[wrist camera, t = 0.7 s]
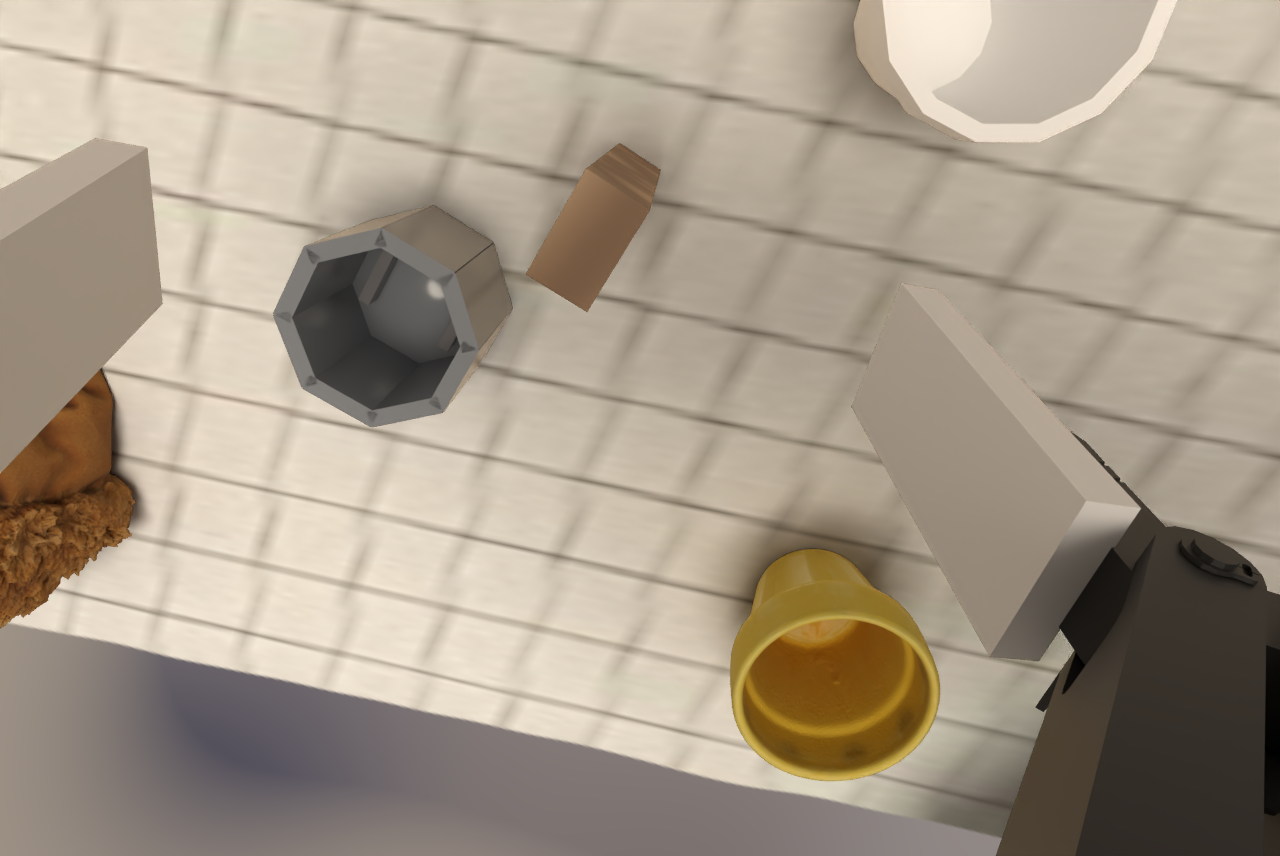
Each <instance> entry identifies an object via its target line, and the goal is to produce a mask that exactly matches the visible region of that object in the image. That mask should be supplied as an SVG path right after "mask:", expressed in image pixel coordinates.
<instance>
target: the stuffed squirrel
mask: <svg viewBox="0 0 1280 856" xmlns="http://www.w3.org/2000/svg"><path fill="white" fill-rule="evenodd" d="M112 409H113V402H112V396H111V393H110V391H109V388H108V386H107V384H106V381H105V379H104V377H103V375H102V373H101V372H100V370H99V371H98V372H97V373H96V374H95V375H94V376H93V377H92V378H91V379H90V380H89V381H88V382H87V383H86V384H85V385H84V386H83V387H82V388H81V389H80V391H79V392H78V393H77V394H76V395H75V396H74V397H73V398H72V399H71V400H70V401H69V402H68V403H67V404H66V405H65V406H64V407H63V408H62V409H61V410H60V411H59V413H58V414H57V415H56V416H55V417H54V418H53V419H52V420H51V421H50V422H49V423H48V424H47V425H46V426H45V427H44V428H43V429H42V430H41V431H40V432H39V433H38V434H37V436H36V437H35V438H34V439H33V440H32V441H31V442H30V443H29V444H28V445H27V446H26V447H25V448H24V449H23V450H22V451H21V452H20V453H19V454H18V455H17V456H16V457H15V459H14V460H13V461H12V462H11V463H10V464H9V465H8V466H7V467H6V468H5V469H4V470H3V471H2V472H1V473H0V628H2V627H4V626H5V625H6V624H7V623H8V622H10V621H11V619H12V618H14V617H15V616H19V615H20V614H21V616H22V617H24V616H25V615H27V614H28V615H30V613H31V612H32V611H34V610H35V609H36V608H37V607H39V606H40V605H42V604H43V603H45V602H47V601H48V597H49V594H51V593H52V592H53V591H54V590H55V589H56V588H57V587H58V585H59V584H60V579H61V577H62V576H63V577H65V578H67V579H69V578H70V576H71V575H72V574H73V573H75V574H76V575H77V576H79V572H80V571H81V570H83V568H84V567H85V564H87V562H88V561H89V560H88V558H92V560H93V561H95V560H96V559H97V554H98V551H99V552H100V551H101V549H102V547H107V545H108V546H112V547H116V546H117V544H118V543H121V542H122V539H126V538H128V536H132V534H130V532H129V530H128V529H127V528H128V527H129V525H130V517H131V515H132V514H133V510H132V507H133V504H134V503H136V502H135V501H134V500H133V498H132V494H133V493H132V491H131V489H130V488H129V487H128V486H127V485H126V484H125V483H123V481H122V480H121V479H119V478H118V477H117V476H115V475H111V474H110V473H109V472H110V470H111V466H112V464H111V432H112V429H111V424H112ZM117 547H118V546H117Z"/></svg>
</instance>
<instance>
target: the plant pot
mask: <svg viewBox="0 0 1280 856" xmlns="http://www.w3.org/2000/svg"><path fill="white" fill-rule="evenodd" d="M730 685H731V698H732V708H733V714H734V717H735V721H736V723H737V726H738V728H739V730H740V732H741V734H742V736H743V738H744V739H745V741H746V742H747V743H748V744H749V746H750V747H751V748H752V749H753V750H754V751H755V752H756V753H757V754H758V755H759V756H760V757H761V758H763V759H764V760H765V761H767V762H768V763H769V764H771V765H773V766H774V767H776V768H778V769H780V770H782V771H784V772H787V773H789V774H792V775H795V776H798V777H802V778H806V779H812V780H820V781H843V780H853V779H858V778H862V777H866V776H870V775H873V774H875V773H878V772H881V771H883V770H885V769H887V768H889V767H891V766H893V765H894V764H896V763H898V762H900V761H901V760H902V759H904V758H905V757H906V756H907V755H909V754H910V753H911V752H912V751H913V750H914V749H915V748H916V747H917V746H918V745H919V744H920V743H921V741H922V740H923V739H924V737H925V736H926V734H927V733H928V731H929V730H930V728H931V726H932V724H933V722H934V719H935V717H936V714H937V710H938V706H939V700H940V682H939V675H938V671H937V668H936V665H935V662H934V660H933V657H932V655H931V653H930V650H929V648H928V646H927V644H926V642H925V640H924V638H923V636H922V634H921V632H920V630H919V628H918V626H917V625H916V623H915V621H914V620H913V618H912V617H911V616H910V614H909V613H908V612H907V611H906V610H905V609H904V608H903V607H902V606H901V605H900V604H899V603H898V602H897V601H895V600H894V599H893V598H891V597H890V596H888V595H886V594H884V593H883V592H881V591H879V590H877V589H875V588H874V587H873V586H872V585H871V584H870V583H869V582H868V580H867V579H866V578H865V577H864V576H863V575H862V573H861V572H860V571H859V570H858V569H857V568H856V566H855V565H854V564H853V563H851V562H850V561H849V560H847V559H846V558H844V557H842V556H840V555H839V554H836V553H834V552H831V551H827V550H822V549H804V550H799V551H795V552H792V553H789V554H786V555H784V556H782V557H781V558H779V559H777V560H776V561H775V562H773V563H772V564H771V565H770V566H769V567H768V568H767V569H766V571H765V572H764V573H763V575H762V577H761V578H760V580H759V583H758V585H757V589H756V593H755V598H754V602H753V606H752V610H751V614H750V616H749V617H748V618H747V620H746V621H745V622H744V624H743V625H742V627H741V629H740V631H739V633H738V635H737V637H736V639H735V642H734V645H733V649H732V653H731V664H730Z"/></svg>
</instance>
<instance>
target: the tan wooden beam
mask: <svg viewBox="0 0 1280 856" xmlns="http://www.w3.org/2000/svg"><path fill="white" fill-rule="evenodd" d="M660 171H661V170H660V169H658V168H657V167H655V166H654V165H652V164H651V163H649V162H648V161H646V160H645V159H643V158H641V157H640V156H638V155H637V154H635V153H634V152H632V151H631V150H629V149H628V148H626V147H625V146H623V145H622V144H618V145H617V146H616V147H614V148H613V149H612V150H610V151H609V152H608V153H606V154H605V155H604V156H602V157H601V158H600V159H598V160H597V161H596V162H594V163H593V164H592V165H590V166H589V167H588V168H586V170H585V172H584V173H583V175H582V177H581V179H580V180H579V182H578V184H577V186H576V187H575V189H574V191H573V193H572V194H571V196H570V198H569V200H568V201H567V203H566V205H565V207H564V208H563V210H562V212H561V213H560V215H559V217H558V219H557V220H556V222H555V224H554V226H553V227H552V229H551V231H550V233H549V234H548V236H547V238H546V240H545V241H544V243H543V245H542V247H541V248H540V250H539V252H538V254H537V255H536V257H535V259H534V261H533V262H532V264H531V266H530V267H529V269H528V271H527V273H526V275H528V276H529V277H531V278H532V279H534V280H536V281H537V282H539V283H541V284H542V285H544V286H545V287H547V288H549V289H550V290H552V291H554V292H555V293H557V294H558V295H560V296H562V297H563V298H565V299H566V300H568V301H570V302H571V303H573V304H575V305H576V306H578V307H579V308H581V309H583V310H584V311H586V312H587V311H588V310H589V308H590V307H591V305H592V303H593V302H594V300H595V298H596V297H597V295H598V294H599V292H600V290H601V289H602V287H603V285H604V284H605V282H606V281H607V279H608V277H609V276H610V274H611V272H612V271H613V269H614V268H615V266H616V264H617V263H618V261H619V259H620V258H621V256H622V254H623V253H624V251H625V250H626V248H627V246H628V245H629V243H630V241H631V240H632V238H633V237H634V235H635V233H636V232H637V230H638V228H639V227H640V225H641V224H642V222H643V220H644V219H645V217H646V215H647V214H648V212H649V211H650V208H651V204H652V200H653V197H654V193H655V189H656V185H657V182H658V178H659V174H660Z"/></svg>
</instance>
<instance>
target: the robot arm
mask: <svg viewBox="0 0 1280 856" xmlns="http://www.w3.org/2000/svg"><path fill="white" fill-rule="evenodd" d="M162 304H163V303H162V292H161V282H160V272H159V262H158V251H157V241H156V231H155V221H154V210H153V200H152V190H151V180H150V169H149V159H148V149H147V147H141V146H136V145H130V144H125V143H119V142H113V141H108V140H102V139H97V138H95V139H93V140H91V141H89V142H87V143H85V144H84V145H82V146H80V147H78V148H76V149H74V150H72V151H71V152H69V153H67V154H65V155H63V156H61V157H60V158H58V159H56V160H54V161H52V162H50V163H48V164H47V165H45V166H43V167H41V168H39V169H37V170H36V171H34V172H32V173H30V174H28V175H26V176H24V177H23V178H21V179H19V180H17V181H15V182H13V183H12V184H10V185H8V186H6V187H4V188H2V189H0V473H1V472H2V471H3V470H4V469H5V468H6V467H7V466H8V465H9V464H10V463H11V462H12V461H13V460H14V459H15V457H16V456H17V455H18V454H19V453H20V452H21V451H22V450H23V449H24V448H25V447H26V446H27V445H28V444H29V443H30V442H31V441H32V440H33V439H34V438H35V437H36V436H37V434H38V433H39V432H40V431H41V430H42V429H43V428H44V427H45V426H46V425H47V424H48V423H49V422H50V421H51V420H52V419H53V418H54V417H55V416H56V415H57V414H58V413H59V411H60V410H61V409H62V408H63V407H64V406H65V405H66V404H67V403H68V402H69V401H70V400H71V399H72V398H73V397H74V396H75V395H76V394H77V393H78V392H79V391H80V389H81V388H82V387H83V386H84V385H85V384H86V383H87V382H88V381H89V380H90V379H91V378H92V377H93V376H94V375H95V374H96V373H97V372H98V371H99V370H100V369H101V368H102V366H103V365H104V364H105V363H106V362H107V361H108V360H109V359H110V358H111V357H112V356H113V355H114V354H115V353H116V352H117V351H118V350H119V349H120V348H121V347H122V346H123V345H124V343H125V342H126V341H127V340H128V339H129V338H130V337H131V336H132V335H133V334H134V333H135V332H136V331H137V330H138V329H139V328H140V327H141V326H142V325H143V324H144V323H145V322H146V320H147V319H148V318H149V317H150V316H151V315H152V314H153V313H154V312H155V311H156V310H157V309H158V308H159V307H160V306H161V305H162ZM851 407H852V409H853V410H854V412H855V414H856V416H857V418H858V420H859V421H860V423H861V425H862V427H863V429H864V430H865V432H866V434H867V436H868V438H869V439H870V441H871V443H872V445H873V447H874V448H875V450H876V452H877V454H878V456H879V458H880V459H881V461H882V463H883V465H884V467H885V468H886V470H887V472H888V474H889V476H890V477H891V479H892V481H893V483H894V485H895V486H896V488H897V490H898V492H899V494H900V495H901V497H902V499H903V501H904V503H905V505H906V506H907V508H908V510H909V512H910V514H911V515H912V517H913V519H914V521H915V523H916V524H917V526H918V528H919V530H920V532H921V533H922V535H923V537H924V539H925V541H926V543H927V544H928V546H929V548H930V550H931V552H932V553H933V555H934V557H935V559H936V561H937V562H938V564H939V566H940V568H941V570H942V571H943V573H944V575H945V577H946V579H947V580H948V582H949V584H950V586H951V588H952V590H953V591H954V593H955V595H956V597H957V599H958V600H959V602H960V604H961V606H962V608H963V609H964V611H965V613H966V615H967V617H968V618H969V620H970V622H971V624H972V626H973V628H974V629H975V631H976V633H977V635H978V637H979V638H980V640H981V642H982V644H983V646H984V647H985V649H986V651H987V653H988V655H989V656H990V657H999V658H1010V659H1020V660H1031V661H1039V660H1040V659H1041V657H1042V656H1043V654H1044V653H1045V651H1046V650H1047V648H1048V647H1049V645H1050V644H1051V642H1052V641H1053V639H1054V638H1055V636H1056V635H1057V633H1058V632H1059V630H1060V629H1061V631H1062V632H1063V634H1064V635H1065V637H1066V638H1067V640H1068V641H1069V643H1070V644H1071V646H1072V647H1073V648H1074V650H1075V651H1074V652H1073V654H1072V655H1071V657H1070V658H1069V660H1068V661H1067V662H1066V664H1065V665H1064V667H1063V668H1062V670H1061V671H1060V672H1059V674H1058V675H1057V677H1056V678H1055V680H1054V681H1053V683H1052V684H1051V685H1050V687H1049V688H1048V690H1047V691H1046V693H1045V694H1044V695H1043V697H1042V698H1041V700H1040V701H1039V703H1038V704H1037V706H1036V708H1037V709H1039V710H1041V711H1042V712H1044V711H1045V710H1046V709H1047V708H1048V709H1047V711H1046V714H1045V717H1044V720H1043V723H1042V726H1041V728H1040V731H1039V734H1038V737H1037V740H1036V743H1035V746H1034V748H1033V751H1032V754H1031V757H1030V760H1029V763H1028V766H1027V768H1026V771H1025V774H1024V777H1023V780H1022V783H1021V785H1020V788H1019V791H1018V794H1017V797H1016V800H1015V803H1014V805H1013V808H1012V811H1011V814H1010V817H1009V820H1008V823H1007V825H1006V828H1005V831H1004V834H1003V837H1002V840H1001V842H1000V845H999V849H998V851H997V854H996V856H1280V595H1279V594H1275V593H1272V592H1269V591H1267V587H1266V584H1265V581H1264V579H1263V576H1262V575H1261V574H1260V573H1259V571H1258V570H1257V569H1256V568H1255V567H1254V566H1253V565H1252V564H1251V562H1249V561H1248V560H1247V559H1245V558H1244V557H1243V556H1241V555H1240V554H1239V553H1237V552H1236V551H1235V550H1234V549H1232V548H1230V547H1228V546H1227V545H1225V544H1223V543H1221V542H1220V541H1218V540H1216V539H1214V538H1212V537H1209V536H1207V535H1204V534H1202V533H1199V532H1197V531H1194V530H1190V529H1185V528H1180V527H1176V526H1173V527H1165V526H1164V525H1163V524H1162V523H1161V522H1160V520H1159V519H1158V518H1157V517H1156V516H1155V515H1154V514H1153V513H1152V512H1151V511H1150V510H1149V509H1148V508H1147V507H1146V506H1145V504H1144V503H1143V502H1142V501H1141V500H1140V499H1139V498H1138V497H1137V496H1136V495H1135V494H1134V493H1133V492H1132V491H1131V490H1130V488H1129V487H1128V486H1127V485H1126V484H1125V483H1122V482H1120V478H1119V477H1118V476H1117V475H1116V474H1115V473H1114V471H1113V470H1112V469H1111V468H1110V467H1109V466H1104V463H1105V462H1104V461H1103V460H1102V459H1101V458H1100V457H1099V455H1098V454H1097V453H1096V452H1095V451H1094V450H1093V449H1092V448H1091V447H1090V446H1089V445H1088V444H1087V443H1086V442H1085V441H1084V440H1082V439H1081V438H1079V437H1078V436H1076V435H1075V434H1074V433H1072V432H1071V431H1069V430H1068V429H1067V428H1066V427H1065V426H1064V425H1063V424H1062V422H1061V421H1060V420H1059V419H1058V418H1057V417H1056V416H1055V415H1054V414H1053V413H1052V412H1051V411H1050V410H1049V408H1048V407H1047V406H1046V405H1045V404H1044V403H1043V402H1042V401H1041V400H1040V399H1039V398H1038V397H1037V396H1036V394H1035V393H1034V392H1033V391H1032V390H1031V389H1030V388H1029V387H1028V386H1027V385H1026V384H1025V383H1024V382H1023V380H1022V379H1021V378H1020V377H1019V376H1018V375H1017V374H1016V373H1015V372H1014V371H1013V370H1012V369H1011V367H1010V366H1009V365H1008V364H1007V363H1006V362H1005V361H1004V360H1003V359H1002V358H1001V357H1000V356H999V355H998V353H997V352H996V351H995V350H994V349H993V348H992V347H991V346H990V345H989V344H988V343H987V342H986V341H985V339H984V338H983V337H982V336H981V335H980V334H979V333H978V332H977V331H976V330H975V329H974V328H973V327H972V325H971V324H970V323H969V322H968V321H967V320H966V319H965V318H964V317H963V316H962V315H961V314H960V313H959V311H958V310H957V309H956V308H955V307H954V306H953V305H952V304H951V303H950V302H949V301H948V300H947V298H946V297H945V296H944V295H943V294H942V293H941V292H940V291H939V290H937V289H931V288H926V287H920V286H915V285H909V284H904V283H901V285H900V287H899V290H898V292H897V295H896V297H895V300H894V302H893V305H892V307H891V310H890V312H889V315H888V317H887V320H886V322H885V325H884V327H883V330H882V332H881V334H880V337H879V339H878V342H877V344H876V347H875V349H874V352H873V354H872V357H871V359H870V362H869V364H868V367H867V369H866V372H865V374H864V376H863V379H862V381H861V384H860V386H859V389H858V391H857V394H856V396H855V399H854V401H853V404H852V406H851Z"/></svg>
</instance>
